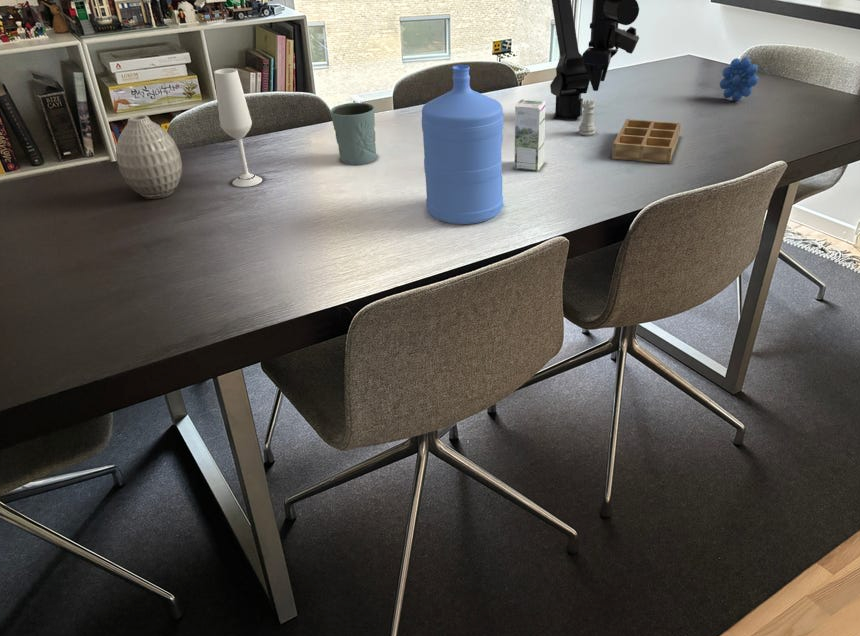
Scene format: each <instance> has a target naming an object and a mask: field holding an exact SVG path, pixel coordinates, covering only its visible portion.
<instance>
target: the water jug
mask: <svg viewBox="0 0 860 636" xmlns="http://www.w3.org/2000/svg"><path fill="white" fill-rule="evenodd" d="M451 68H452V72H453V75H452V84H453V87H452V89H451V90H449V91H447V92H446V93H444V94H441V95H440V96H437V97H435V98H433V99H431V100H429V101H428V102H426V103H425V104H424V105H422V109H421V130H422V138H423V139H422V140H423V155H424V156H423V157H424V158H423V168H424V169H423V170H424V174H425V191H426V193H425V194H426V199H425V202H426V211H427V212H428V214H429V215H430V216H431V217H433V218H434V219H436V220H438V221H439V222H442V223H443V222H444V223H448V224H452V225H453V224H454V225H471V224H479V223H482V222H483V223H484V222H486V221H489V220H491V219H494V218H496V217H498V215H500V214H501V212H502V210H503V207H504V196H503V174H502V172H503V171H502V170H503V169H502V168H503V167H502V147H503V137H504V135H503V134H504V133H503V131H504V112H503V111H504V110H503V105H502V104H501V102H499V101H498V100H496V99H494V98H492V97H490V96H488V95H485V94H483V93H480V92H478V91H475V90H473V89H472V88H471V85H470V82H471V81H470V80H471V75H470V69H471V67H470V65H467V64H456V65H453V66H452V67H451Z"/></svg>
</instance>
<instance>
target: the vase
mask: <svg viewBox="0 0 860 636" xmlns="http://www.w3.org/2000/svg"><path fill="white" fill-rule="evenodd" d="M115 157H116V163H117V168H118V170H119V173H120V175H121V176H122V178H123V180H124V181H125V183H126V184H127V185H128V186H129V187H130V189H132V190H133V191H134V192H135V193H137V194H138V193H139V194H138V195H140V194H143V195H157V194H164V193H167V192H169V191H172V190H173V189H175V188H176V189H177V188H178V186H179V183H180V181H181V177H182V174H183V161H182V155H181V153H180V150H179V147H178V145H177V143H176V141H175V140H174V139H173V137H172V136H171V134H169V132H167V130H165V128H163V127H162V126H161V125H159V124H157V123H156V122H154V121H152V120H151V119H150V117H149V116H148V115H144V114H138V115H133V116H131V117H129V118H128V119H127V124H126V125H125V126H124V128H123V129H122V130H121V132H120V134H119V136H118V139H117V142H116V147H115ZM176 189H175V190H174V191H172V192H170V193H168V194H165V195H161V196H153V197H148V196H142V195H140V196H141V197H143V198H145V199H148V200H160V199H165V198H167V197H170V196H171V195H173V194H174V192H175V191H176Z"/></svg>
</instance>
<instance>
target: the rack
mask: <svg viewBox="0 0 860 636" xmlns="http://www.w3.org/2000/svg"><path fill="white" fill-rule="evenodd" d="M681 125H682V123H681V122H672V121H659V120H647V119H631V118H626V119H625V121H624V123H623V125H622V127H621V128H620V130H619V132H618V134H617V136H616V137H615V139H614V141H613V143H612V148H611V149H612V151H611V159H615V160H625V161H637V162H648V163H657V164H658V163H659V164H671V162H672V159H673V156H674V153H675V149H676V147H677V144H678V142H679V138H680V132H681Z"/></svg>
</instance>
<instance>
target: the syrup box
mask: <svg viewBox="0 0 860 636" xmlns="http://www.w3.org/2000/svg"><path fill="white" fill-rule="evenodd" d="M546 103H547V102H546V100H537V99H536V100H534V99H521V100H519V101H518V102H517V103H516V105H515V108H514V169H515V170H525V171H535V172H538V171H539V170H540V169H541V167H542V166H543V164H544V162H545V129H546Z"/></svg>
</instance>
